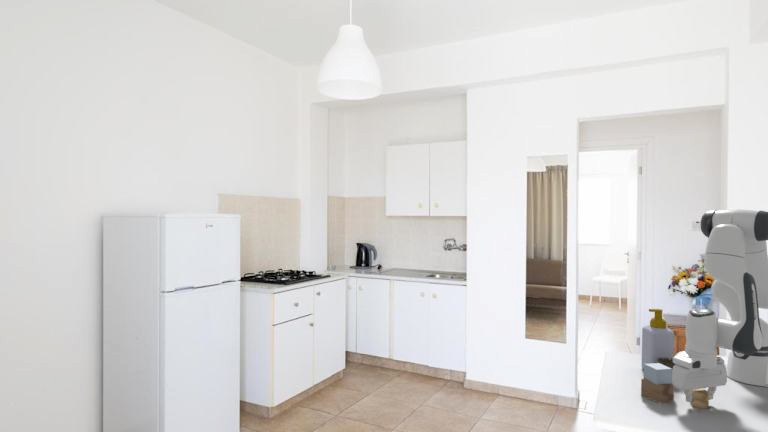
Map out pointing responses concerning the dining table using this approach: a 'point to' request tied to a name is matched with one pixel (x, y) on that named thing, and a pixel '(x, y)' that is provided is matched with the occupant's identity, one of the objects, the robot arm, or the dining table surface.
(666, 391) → the tower base
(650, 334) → the soap bottle
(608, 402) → the dining table surface
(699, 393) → the beech cylinder
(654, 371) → the tower top block
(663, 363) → the cup
